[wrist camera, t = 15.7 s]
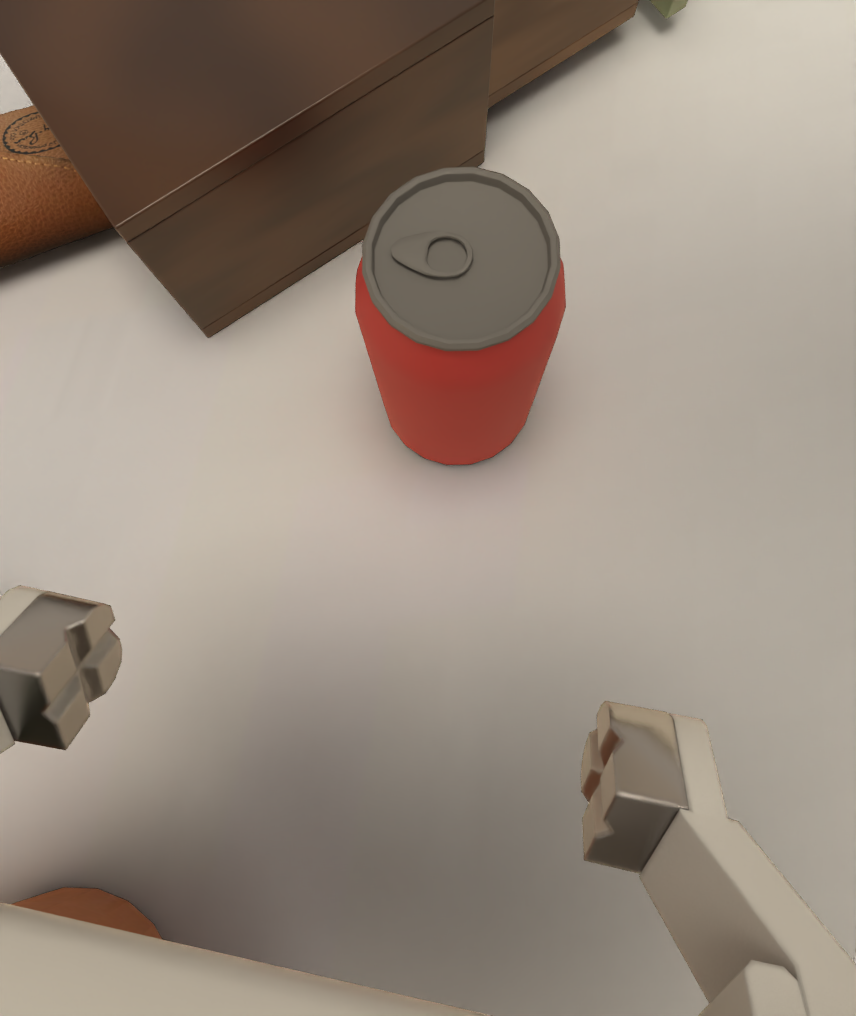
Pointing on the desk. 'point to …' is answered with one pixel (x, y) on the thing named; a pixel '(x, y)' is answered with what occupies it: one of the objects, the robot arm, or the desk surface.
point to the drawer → (551, 35)
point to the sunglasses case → (40, 191)
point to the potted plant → (92, 909)
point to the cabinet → (251, 124)
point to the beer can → (460, 309)
